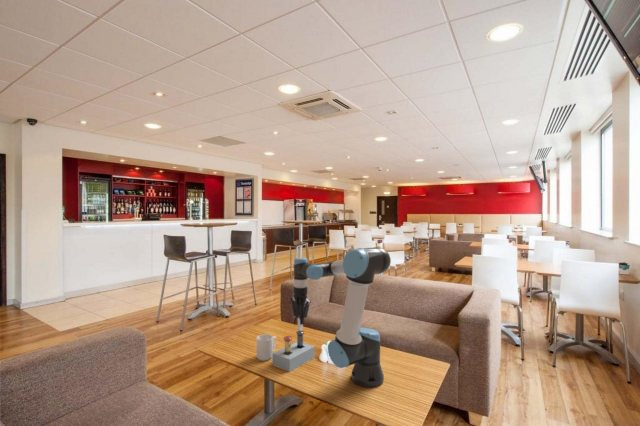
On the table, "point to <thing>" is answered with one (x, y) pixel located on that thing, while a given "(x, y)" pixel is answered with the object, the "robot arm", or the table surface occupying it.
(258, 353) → the mug
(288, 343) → the brass plug
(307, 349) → the block
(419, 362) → the table surface
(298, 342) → the dark plug
